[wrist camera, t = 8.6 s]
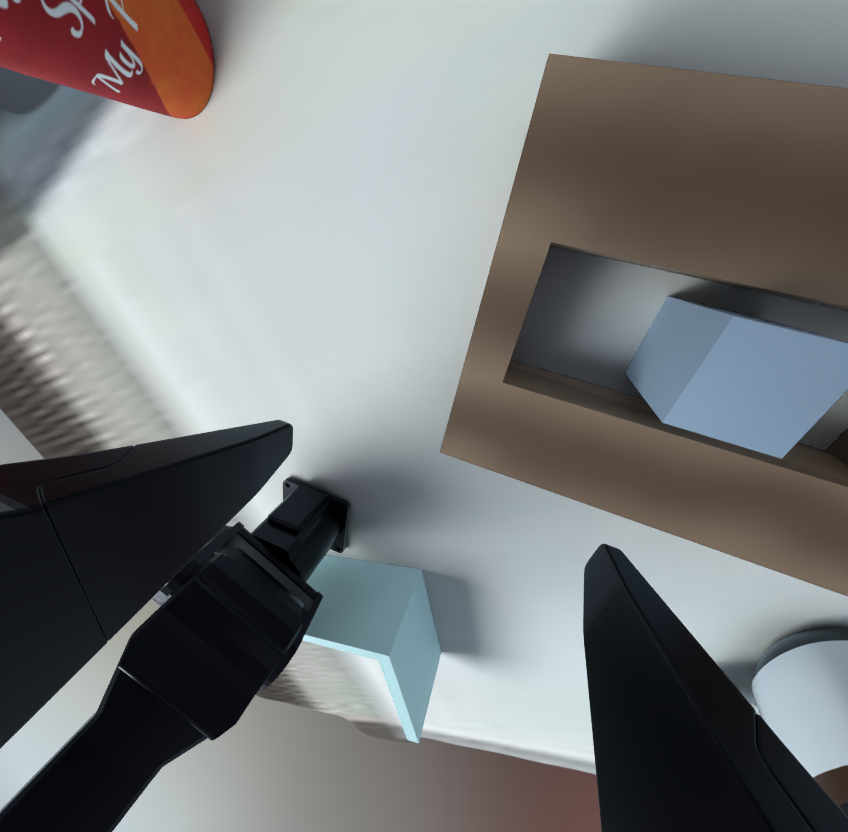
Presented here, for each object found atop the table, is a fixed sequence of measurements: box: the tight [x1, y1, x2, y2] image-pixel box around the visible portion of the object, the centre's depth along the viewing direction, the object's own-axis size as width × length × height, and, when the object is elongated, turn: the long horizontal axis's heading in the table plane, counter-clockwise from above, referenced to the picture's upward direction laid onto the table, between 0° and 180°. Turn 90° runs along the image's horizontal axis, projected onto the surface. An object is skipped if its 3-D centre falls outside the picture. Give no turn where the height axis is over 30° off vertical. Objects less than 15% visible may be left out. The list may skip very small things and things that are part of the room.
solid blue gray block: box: [625, 296, 848, 459], centre depth 13 cm, size 4×4×6 cm
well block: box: [440, 54, 848, 596], centre depth 14 cm, size 16×20×4 cm
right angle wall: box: [302, 555, 441, 743], centre depth 30 cm, size 12×12×8 cm
